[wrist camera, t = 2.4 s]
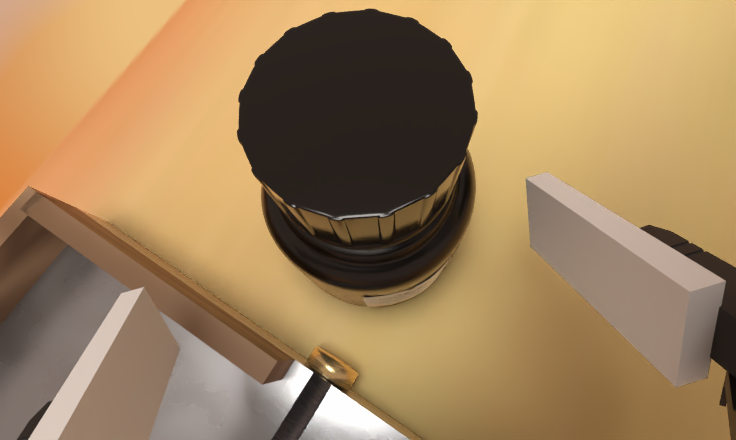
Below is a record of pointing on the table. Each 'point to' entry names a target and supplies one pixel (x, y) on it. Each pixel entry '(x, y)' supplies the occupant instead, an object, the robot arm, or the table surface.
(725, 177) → the table surface
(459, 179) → the ink bottle
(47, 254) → the holder
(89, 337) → the hinge
